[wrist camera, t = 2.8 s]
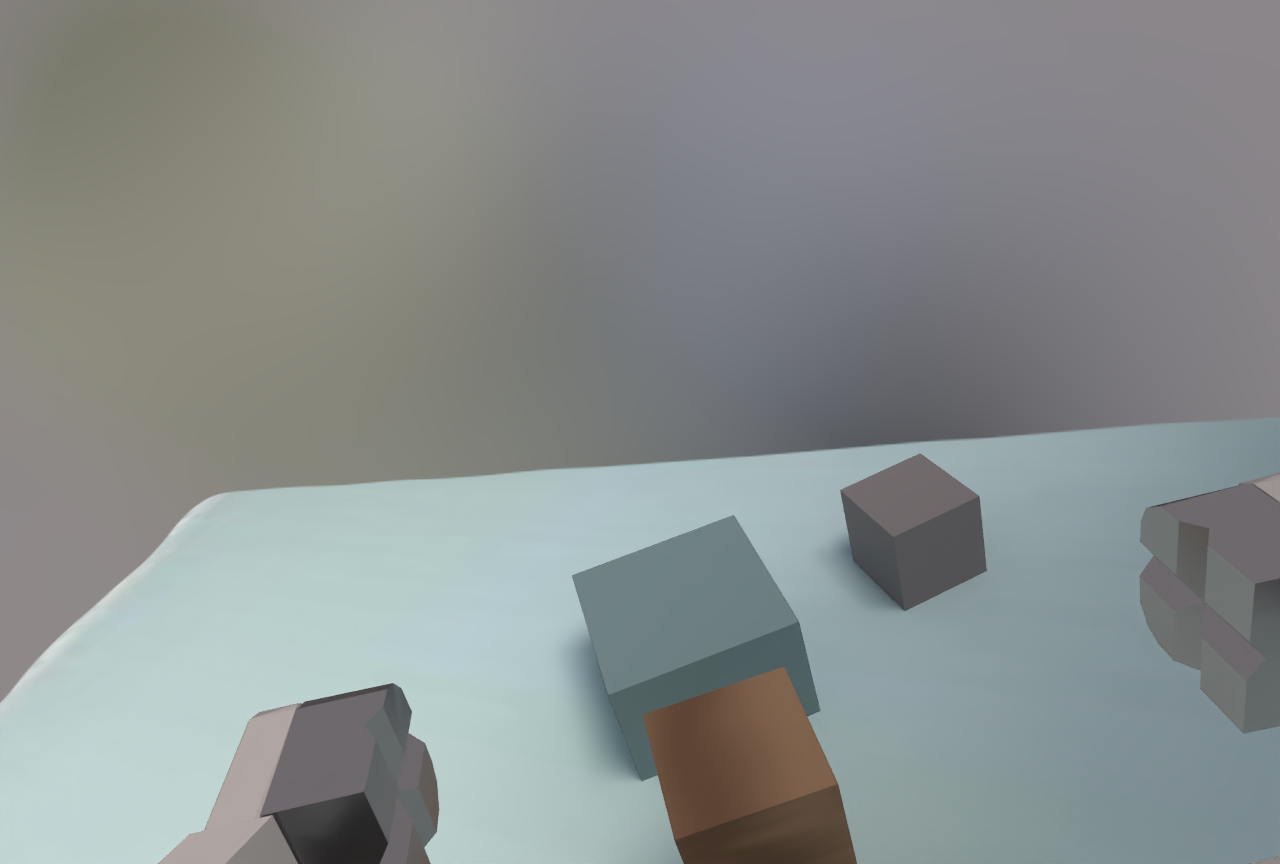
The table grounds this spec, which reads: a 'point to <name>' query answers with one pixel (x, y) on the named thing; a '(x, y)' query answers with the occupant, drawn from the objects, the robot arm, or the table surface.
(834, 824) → the walnut block
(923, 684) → the table surface
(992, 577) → the table surface
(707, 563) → the teal base block
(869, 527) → the charcoal cube
